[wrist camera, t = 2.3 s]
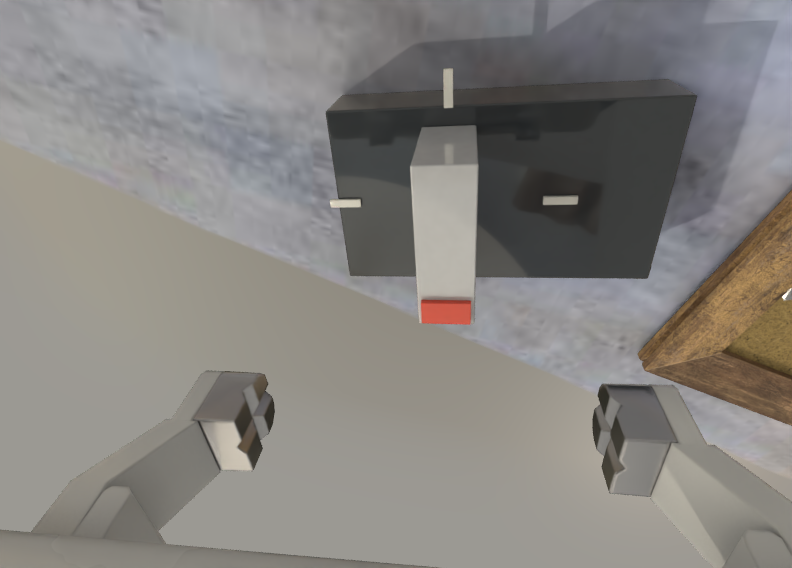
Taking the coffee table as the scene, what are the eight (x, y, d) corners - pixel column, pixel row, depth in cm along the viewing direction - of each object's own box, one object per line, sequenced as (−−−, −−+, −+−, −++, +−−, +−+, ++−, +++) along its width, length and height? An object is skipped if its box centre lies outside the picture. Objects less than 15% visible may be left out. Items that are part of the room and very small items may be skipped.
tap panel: (677, 42, 19) (711, 54, 16) (624, 269, 24) (642, 305, 22) (329, 63, 21) (309, 76, 18) (357, 267, 27) (345, 300, 24)
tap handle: (421, 126, 19) (408, 168, 15) (476, 124, 18) (479, 166, 14) (426, 264, 22) (418, 327, 18) (473, 264, 22) (474, 329, 18)
